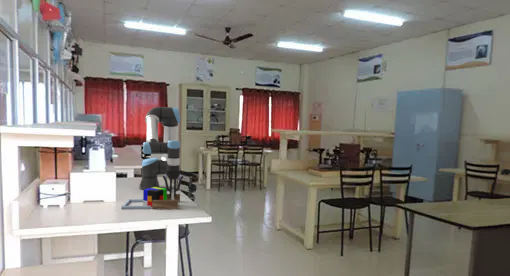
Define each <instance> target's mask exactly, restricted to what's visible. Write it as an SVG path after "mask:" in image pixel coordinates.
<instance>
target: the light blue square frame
mask: <svg viewBox="0 0 510 276" xmlns="http://www.w3.org/2000/svg"><path fill="white" fill-rule="evenodd" d="M130 203H143V198H139V199H138V198H127V200H126V201H125V202H124V204H122V205H121V210H147V209H152V207H151V206H143V205H129V204H130Z"/></svg>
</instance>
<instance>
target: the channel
mask: <svg viewBox="0 0 510 276" xmlns="http://www.w3.org/2000/svg"><path fill="white" fill-rule="evenodd" d="M180 202H181V193H176V197H174V200H171V197H170V193H167V200H152V207H151V209H152V210H155V209H156V210H158V209H159V210H163V209H166V210H169V209H170V210H172V209H174V210H175V209H177V210H178V208H179V203H180Z"/></svg>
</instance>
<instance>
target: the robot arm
mask: <svg viewBox="0 0 510 276" xmlns="http://www.w3.org/2000/svg"><path fill="white" fill-rule="evenodd" d="M180 115H181V114H180V111H179V108H178V107H172V106H171V107H170V106H169V107H167V106H156V107H155V106H154V107H153V108H151V109H150V110H148V112H147V113H146V115H145V117H144V121H145V123H146V140H145V141H144V142H143V143H142V147H143V148H142V153H143V154H145V155H146V154H147V155H162V156H161V157H160V159H159V158H158V157H150V158H145V159H143V160H142V162H141V179H140V181H139V182H140V183H139V184H138V185H139V186H138V190H142V191H143V190H144V189H149V188H153V187H158V188H161V185H160V182H159V178H158V175H159V176H160V175H163V176H162V179H163V180H164V185H165V189H167V192H169V194H170V197H171V200H174V197H176V194H177V192H178V191H180V187H181V184H182V180H183V178H184V175H183V174H181V172H180V168H181V167H180V164H181V163H180V161H181V160H180V159H181V157H180V156H181V155H180V154H181V142H180V140H177V139H176V128H177V127H178V126H179V124H180V123H181V116H180ZM159 123H161V126H163V142H161V141H159ZM178 178H179V180H178ZM168 179H169V183H168ZM177 180H178V184H177Z"/></svg>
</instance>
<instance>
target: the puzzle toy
mask: <svg viewBox="0 0 510 276" xmlns="http://www.w3.org/2000/svg"><path fill="white" fill-rule="evenodd" d="M142 191H143V193H142V194H143V196H142V199H143V202H142V204H143V205H142V206H151V208H152V200H167V194H168V191H167V189H166V187H165V188H163V187H160V188H158V187H153V188H149V189H144V190H142Z"/></svg>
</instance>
